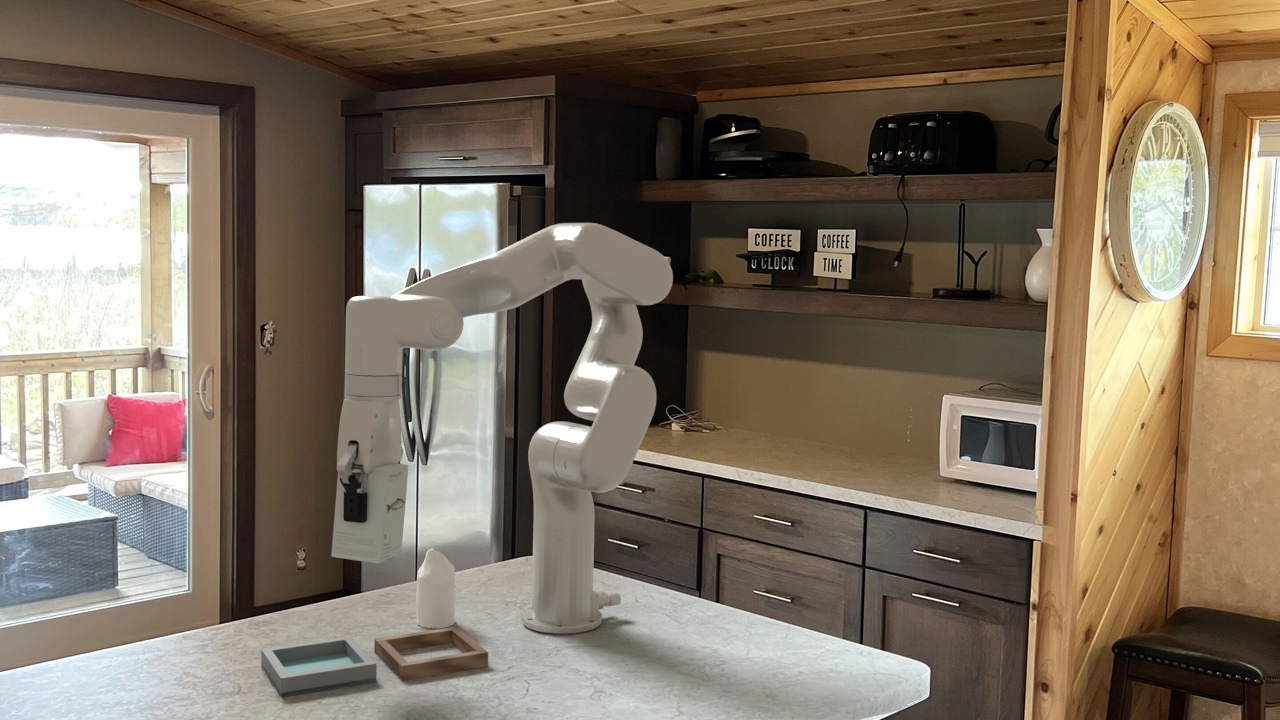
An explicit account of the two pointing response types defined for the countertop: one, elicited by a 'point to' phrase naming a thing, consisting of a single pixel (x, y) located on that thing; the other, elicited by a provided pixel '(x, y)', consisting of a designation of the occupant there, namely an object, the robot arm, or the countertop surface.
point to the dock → (317, 666)
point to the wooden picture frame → (405, 670)
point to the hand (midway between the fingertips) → (370, 515)
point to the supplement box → (373, 518)
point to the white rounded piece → (435, 591)
